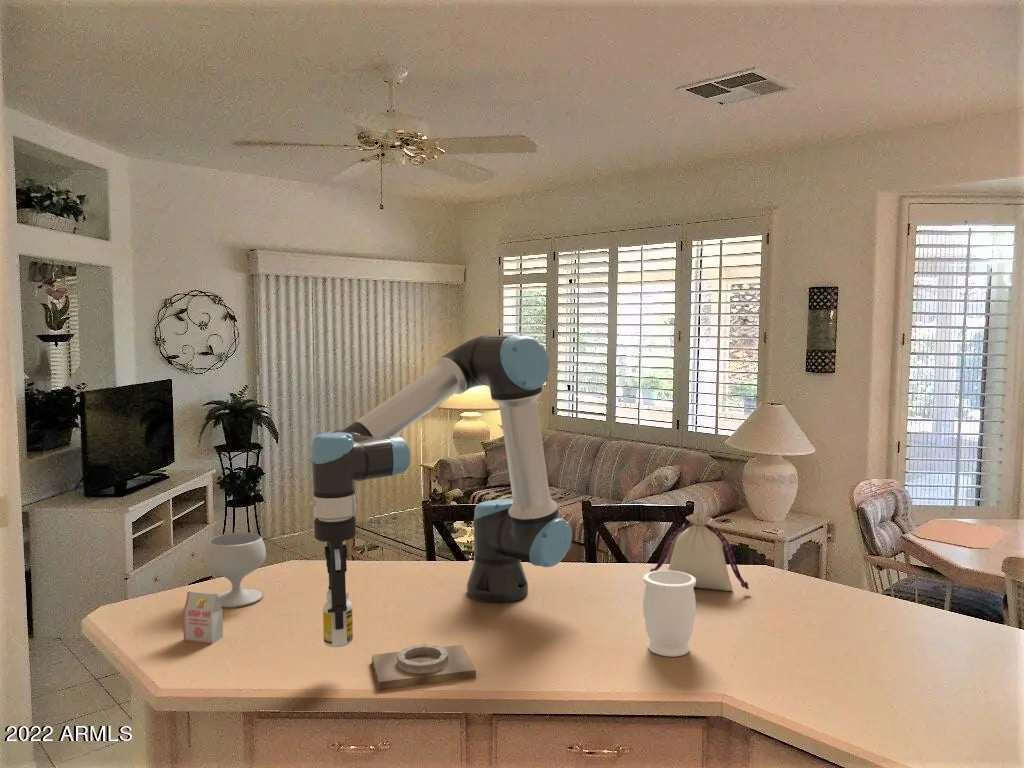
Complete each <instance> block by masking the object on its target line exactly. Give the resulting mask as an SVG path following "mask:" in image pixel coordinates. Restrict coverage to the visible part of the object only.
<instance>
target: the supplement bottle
mask: <svg viewBox="0 0 1024 768" xmlns="http://www.w3.org/2000/svg"><path fill="white" fill-rule="evenodd" d="M349 596H350V595H349V590H348V588H346V606H347V610H346V621H347V644H346V645H338V646H332V630H331V613H328V609H331V607H332V601H331V590H329V589H328V590H327V591H326V602H325V603H324V604H323V606H322V607H323V608H322V617H323V618H322V623H323V624H322V625H323V630H322V631H323V643H324V645H325V646H327V647H329V648H341V647H346V646H348V645H350V644H351V643H352V642H353V641H354V631H353V630H354V628H353V627H354V624H353V623H354V622H353V621H354V620H353V619H354V618H353V617H354V616H353V614H354V613H353V603H352V602H351V601H350V600H349Z"/></svg>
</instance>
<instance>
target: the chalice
mask: <svg viewBox="0 0 1024 768" xmlns="http://www.w3.org/2000/svg"><path fill="white" fill-rule="evenodd" d="M204 551H205V552H204V557H203V561H204V564H205V566H206V568H207V569H208V570H209V572H211V573H213V574H215V575H218V576H221V577H223V578H225V579H227V580H228V581H230V583H231V589H230V590H226V591H222V592H220V593H216V594H217V596H218V600H219V603H220V605H221V608H237V607H243V606H247V605H252V604H254V603H257V602H258V601H260V600H262V598H263V597H264V594H263V593H262V592H261V591H259V590H256V589H250V588H242V587H241V583H242V581H243V580H244V578H245V577H246V576H248V575H249V574H251V573H253V572H254V571H256V570H258V569H259V568H261V566H263V564H264V563H265V562H266V558H267V549H266V545H265V542H264V540H263V538H262V537H261V535H260V534H258V533H255V532H243V531H242V532H231V533H224V534H220V535H217V536H214V537H212V538H210V539H209V541H208V543H207V545H206V547H205V550H204Z"/></svg>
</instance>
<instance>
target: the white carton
mask: <svg viewBox="0 0 1024 768" xmlns="http://www.w3.org/2000/svg"><path fill="white" fill-rule="evenodd" d="M217 594H218V593H214V592H213V593H212V592H200V591H190V590H189V591H187V594H186V601H185V604H184V608H183V612H182V621H183V622H182V623H183V624H182V625H183V642H187V643H189V642H191V643H197V644H198V643H200V644H207V645H213V644H216V643H217V642H218V641H219V639H220V640H221V639H223V638H222V637H224V623H223V621H224V620H223V615H224V614H223V607H221V605H220V603H219V600H218V596H217Z"/></svg>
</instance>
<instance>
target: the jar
mask: <svg viewBox="0 0 1024 768" xmlns="http://www.w3.org/2000/svg"><path fill="white" fill-rule="evenodd" d="M643 582H644V584H645V588H644V592H643V601H642V608H643V609H642V611H643V618H644V626H645V630H646V631H645V632H646V633H647V636H648V639H649V641H648V643H647V649H648V650H650V652H652V653H653V654H655V655H659V656H663V657H671V658H673V657H681V656H684V655H685V656H686V655H687V654H688V653H689V651H690V650H691V647H690V646H689V644H688V642H689V641H690V639H691V636H692V633H693V629H694V624H695V619H696V612H697V609H696V608H697V607H696V606H697V605H696V604H697V603H696V595H695V590H694V588H695V587H694V586H695V585H696V579H695V577H693V576H692V575H690V574H687V573H684V572H679V571H671V570H668V569H667V570H666V569H665V570H663V569H662V570H661V569H660V570H659V569H658V570H657V571H652V572H650V571H649V572H646V573H645V574H644V575H643Z"/></svg>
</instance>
